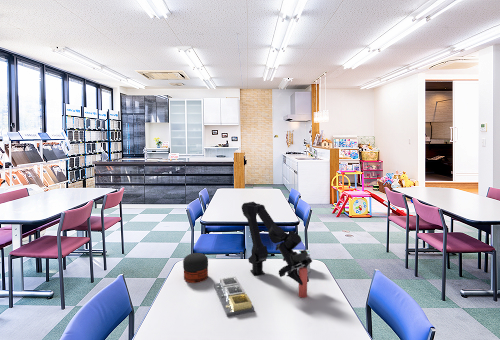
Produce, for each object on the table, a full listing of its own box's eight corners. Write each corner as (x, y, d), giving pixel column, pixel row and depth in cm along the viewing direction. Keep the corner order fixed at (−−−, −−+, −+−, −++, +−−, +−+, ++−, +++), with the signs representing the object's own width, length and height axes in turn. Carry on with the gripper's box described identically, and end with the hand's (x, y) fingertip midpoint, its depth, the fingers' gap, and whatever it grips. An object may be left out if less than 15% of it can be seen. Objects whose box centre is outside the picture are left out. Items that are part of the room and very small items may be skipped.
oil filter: (192, 270, 173) (178, 280, 161) (191, 249, 172) (178, 257, 160) (212, 274, 168) (200, 284, 156) (212, 252, 167) (199, 261, 155)
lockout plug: (296, 295, 146) (297, 268, 144) (302, 292, 148) (302, 266, 147) (303, 298, 143) (303, 271, 141) (308, 295, 145) (309, 269, 144)
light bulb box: (309, 267, 177) (309, 249, 176) (310, 272, 170) (310, 253, 169) (290, 267, 178) (290, 248, 177) (290, 272, 171) (290, 253, 170)
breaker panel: (214, 286, 154) (213, 279, 154) (237, 283, 158) (237, 275, 157) (227, 316, 129) (226, 307, 128) (254, 311, 132) (254, 302, 132)
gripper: (283, 250, 140) (301, 282, 133) (309, 241, 152) (327, 270, 145) (271, 261, 147) (287, 292, 140) (297, 252, 159) (314, 280, 152)
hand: (305, 283), depth 144 cm, fingers closed on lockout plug, 4 cm apart
